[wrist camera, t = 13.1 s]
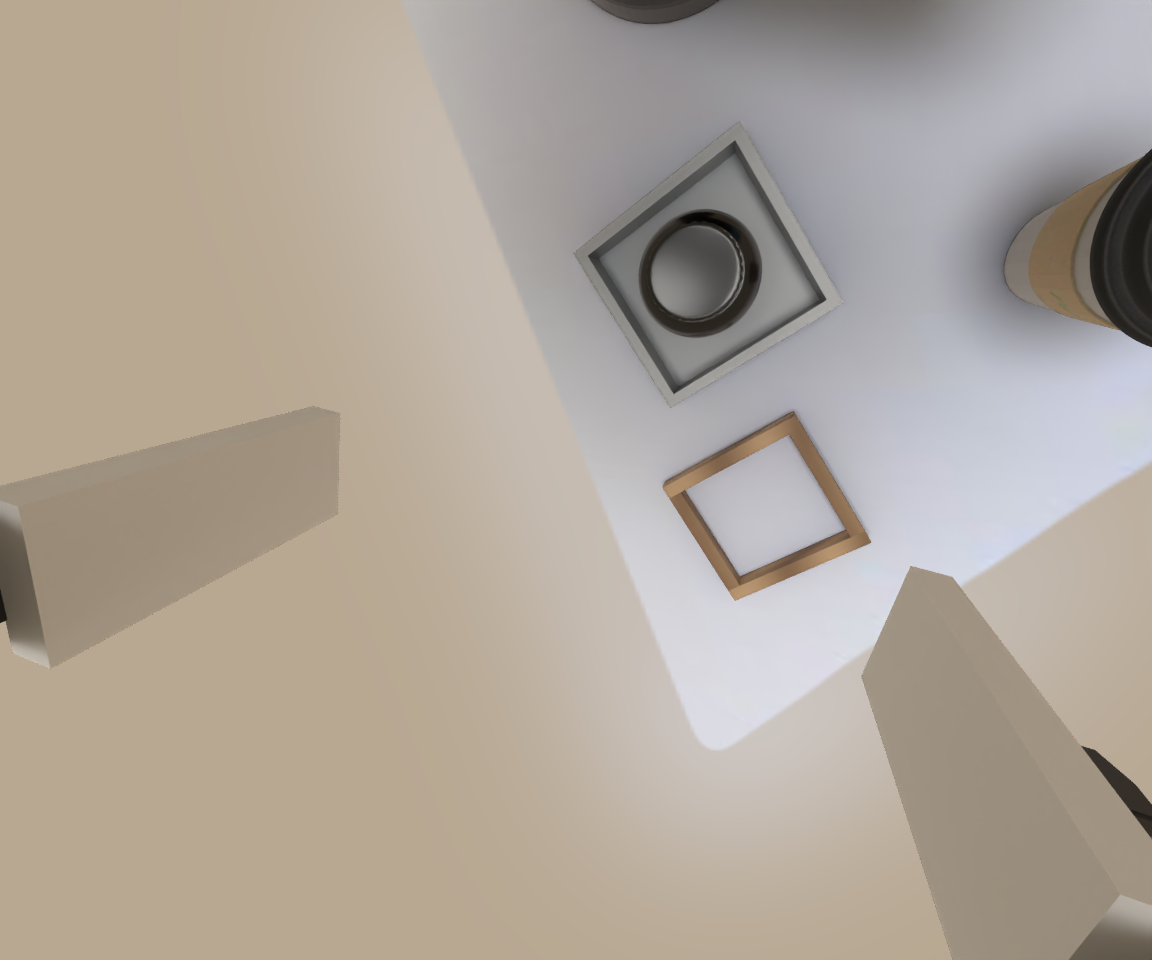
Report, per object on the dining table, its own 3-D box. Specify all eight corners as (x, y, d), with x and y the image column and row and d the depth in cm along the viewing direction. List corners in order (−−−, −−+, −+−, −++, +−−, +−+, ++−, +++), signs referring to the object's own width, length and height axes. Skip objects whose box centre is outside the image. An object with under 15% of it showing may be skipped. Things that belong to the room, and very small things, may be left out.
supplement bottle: (672, 216, 38) (646, 183, 27) (772, 238, 37) (786, 213, 26) (646, 317, 41) (611, 324, 30) (738, 341, 39) (738, 357, 28)
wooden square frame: (793, 411, 41) (795, 415, 39) (866, 534, 42) (871, 542, 40) (664, 481, 45) (662, 487, 43) (735, 591, 46) (734, 600, 45)
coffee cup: (969, 345, 36) (1108, 375, 23) (973, 189, 34) (1132, 115, 20) (1151, 322, 34) (1436, 339, 20) (1170, 148, 31) (1511, 31, 17)
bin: (739, 138, 36) (739, 120, 33) (833, 302, 38) (843, 303, 34) (588, 257, 41) (573, 253, 38) (676, 398, 43) (670, 408, 39)
